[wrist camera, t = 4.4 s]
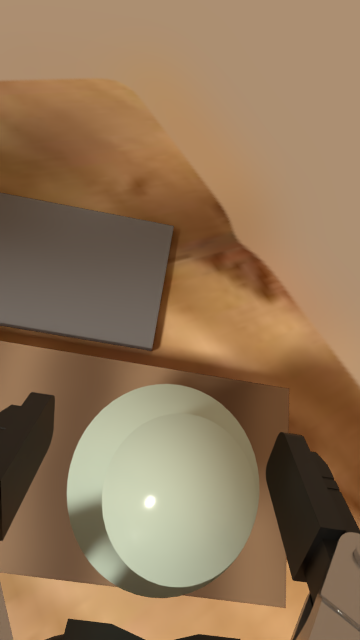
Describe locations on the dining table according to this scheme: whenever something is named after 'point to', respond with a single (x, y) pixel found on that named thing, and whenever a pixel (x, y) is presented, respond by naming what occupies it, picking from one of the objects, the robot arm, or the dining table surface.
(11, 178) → the dining table surface
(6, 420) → the robot arm
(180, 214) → the dining table surface
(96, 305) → the charcoal mat
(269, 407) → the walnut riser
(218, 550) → the celadon bottle
